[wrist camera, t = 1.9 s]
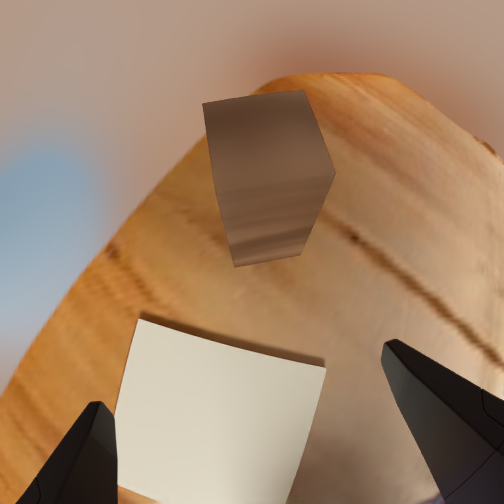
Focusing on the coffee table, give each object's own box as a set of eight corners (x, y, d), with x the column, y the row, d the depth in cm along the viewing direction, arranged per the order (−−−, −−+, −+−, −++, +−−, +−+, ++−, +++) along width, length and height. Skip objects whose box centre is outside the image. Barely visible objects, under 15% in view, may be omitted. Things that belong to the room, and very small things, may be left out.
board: (325, 367, 22) (326, 368, 21) (275, 526, 18) (275, 529, 17) (141, 319, 23) (138, 318, 22) (105, 475, 19) (102, 477, 19)
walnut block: (299, 255, 24) (335, 173, 13) (234, 267, 24) (215, 192, 13) (285, 196, 26) (303, 90, 14) (224, 207, 26) (202, 103, 14)
